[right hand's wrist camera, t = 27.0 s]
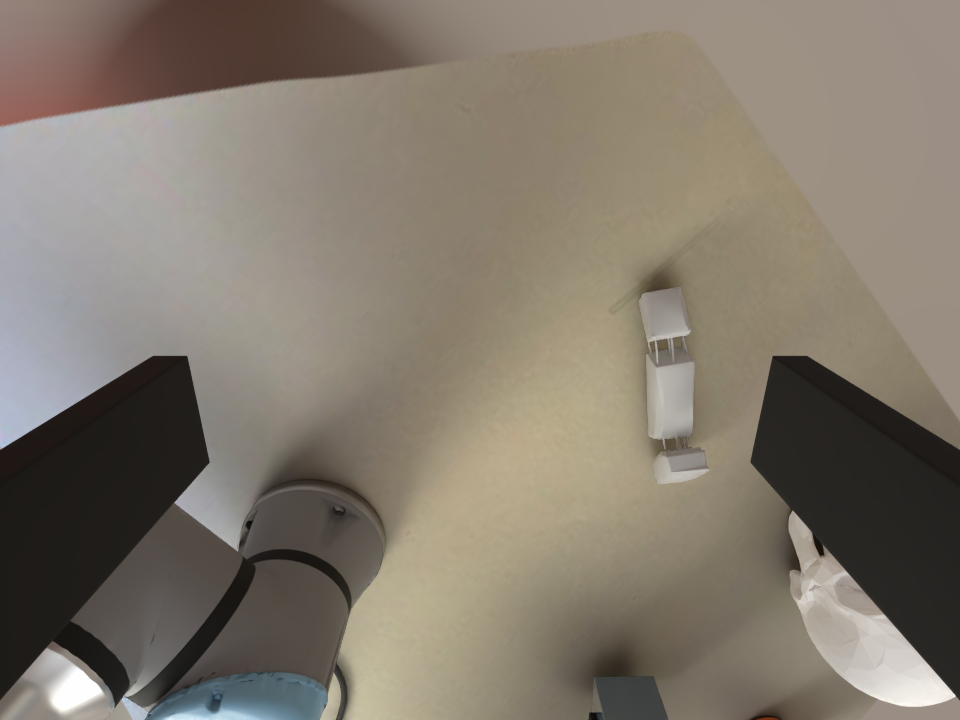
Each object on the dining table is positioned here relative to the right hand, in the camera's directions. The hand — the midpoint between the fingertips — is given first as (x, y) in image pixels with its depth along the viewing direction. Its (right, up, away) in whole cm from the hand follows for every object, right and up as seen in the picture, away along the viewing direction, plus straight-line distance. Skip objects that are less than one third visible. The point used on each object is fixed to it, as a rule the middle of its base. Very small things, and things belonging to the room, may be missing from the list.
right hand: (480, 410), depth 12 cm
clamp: (+18, -1, +40) cm, 44 cm away
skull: (+39, -19, +47) cm, 64 cm away
